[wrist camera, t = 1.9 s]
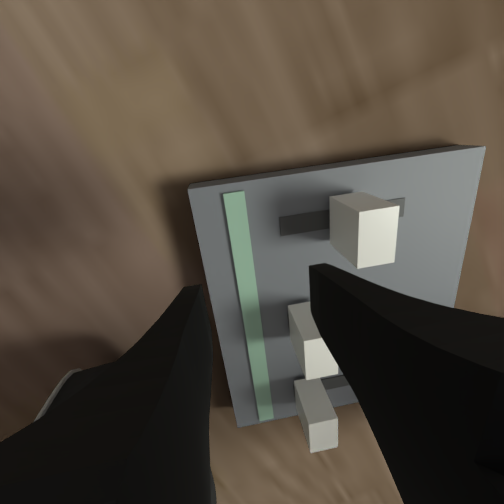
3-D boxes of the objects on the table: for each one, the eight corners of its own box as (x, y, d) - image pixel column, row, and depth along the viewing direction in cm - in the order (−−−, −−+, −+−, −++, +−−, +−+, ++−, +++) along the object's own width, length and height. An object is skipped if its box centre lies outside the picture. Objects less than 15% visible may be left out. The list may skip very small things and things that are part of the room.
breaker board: (459, 144, 19) (488, 146, 17) (422, 367, 27) (439, 386, 25) (189, 183, 17) (187, 190, 15) (235, 406, 25) (237, 430, 23)
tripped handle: (362, 191, 17) (399, 205, 13) (360, 238, 18) (394, 262, 15) (329, 196, 16) (359, 212, 13) (329, 243, 18) (357, 268, 14)
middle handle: (316, 300, 19) (338, 334, 16) (317, 335, 20) (338, 373, 17) (287, 305, 19) (303, 341, 16) (290, 340, 20) (306, 380, 17)
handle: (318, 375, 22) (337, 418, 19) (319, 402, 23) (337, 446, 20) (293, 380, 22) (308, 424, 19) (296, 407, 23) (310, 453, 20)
